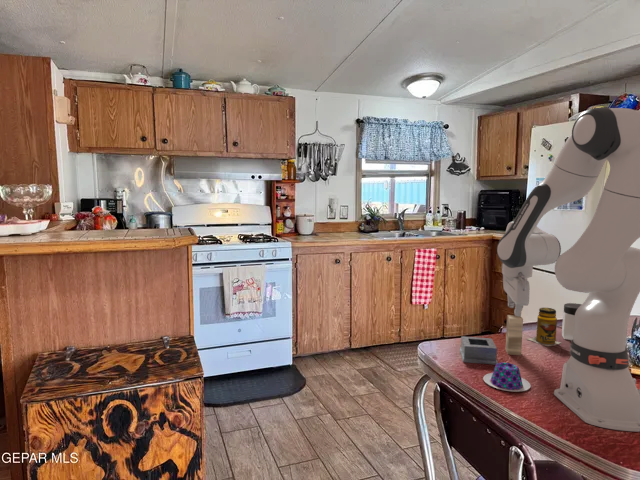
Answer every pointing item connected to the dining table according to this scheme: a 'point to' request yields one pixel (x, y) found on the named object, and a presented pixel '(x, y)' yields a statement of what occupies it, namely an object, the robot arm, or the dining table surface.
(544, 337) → the condiment
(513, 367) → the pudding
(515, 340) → the wooden peg
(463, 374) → the dining table surface
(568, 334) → the jar
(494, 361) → the socket holder
